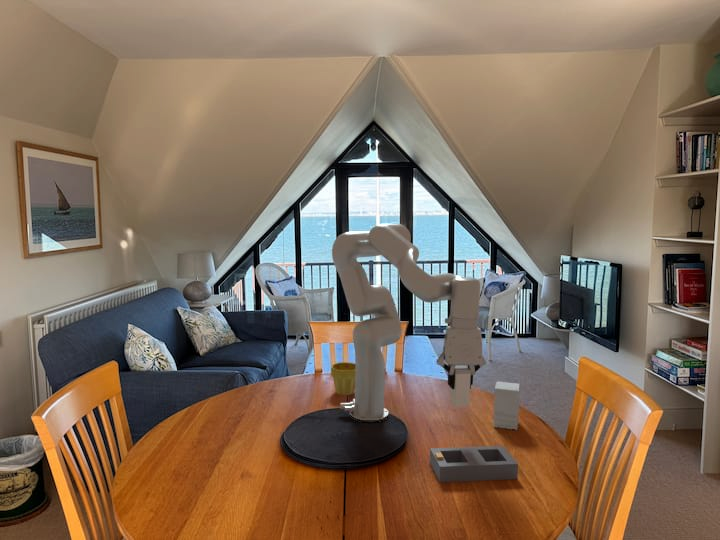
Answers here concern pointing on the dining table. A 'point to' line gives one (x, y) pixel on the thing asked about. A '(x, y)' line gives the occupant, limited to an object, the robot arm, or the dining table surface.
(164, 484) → the dining table surface
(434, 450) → the power strip
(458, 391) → the plug
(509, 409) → the supplement box
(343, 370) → the plant pot
